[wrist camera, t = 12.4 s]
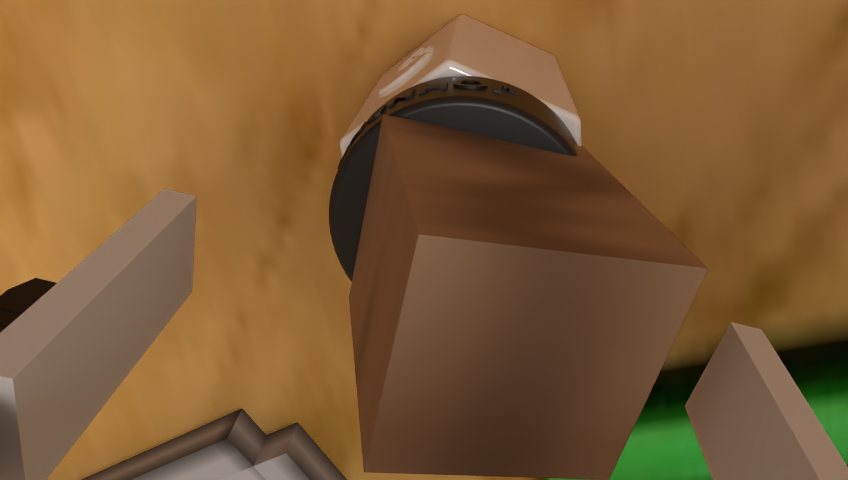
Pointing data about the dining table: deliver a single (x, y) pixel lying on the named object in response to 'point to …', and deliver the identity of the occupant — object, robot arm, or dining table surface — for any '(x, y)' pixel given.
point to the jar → (454, 109)
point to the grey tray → (229, 455)
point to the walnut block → (506, 307)
